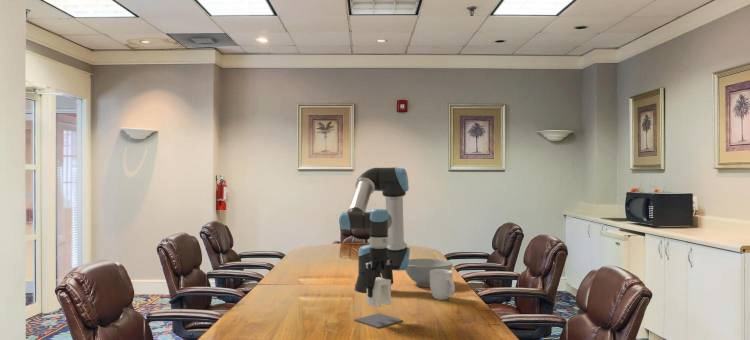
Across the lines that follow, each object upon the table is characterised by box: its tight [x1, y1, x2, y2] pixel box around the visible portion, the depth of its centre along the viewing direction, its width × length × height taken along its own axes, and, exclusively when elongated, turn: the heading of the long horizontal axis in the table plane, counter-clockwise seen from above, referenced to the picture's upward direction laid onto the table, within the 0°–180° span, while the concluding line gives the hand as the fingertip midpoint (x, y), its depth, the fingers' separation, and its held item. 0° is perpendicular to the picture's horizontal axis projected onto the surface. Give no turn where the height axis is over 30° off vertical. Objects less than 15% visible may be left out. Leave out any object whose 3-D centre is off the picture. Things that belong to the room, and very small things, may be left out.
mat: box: [353, 313, 404, 329], centre depth 209 cm, size 14×14×1 cm
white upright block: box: [365, 276, 392, 308], centre depth 209 cm, size 7×7×10 cm
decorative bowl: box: [404, 258, 454, 288], centre depth 279 cm, size 27×27×12 cm
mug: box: [429, 269, 456, 301], centre depth 246 cm, size 15×11×13 cm
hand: (378, 303), depth 209 cm, fingers closed on white upright block, 7 cm apart
